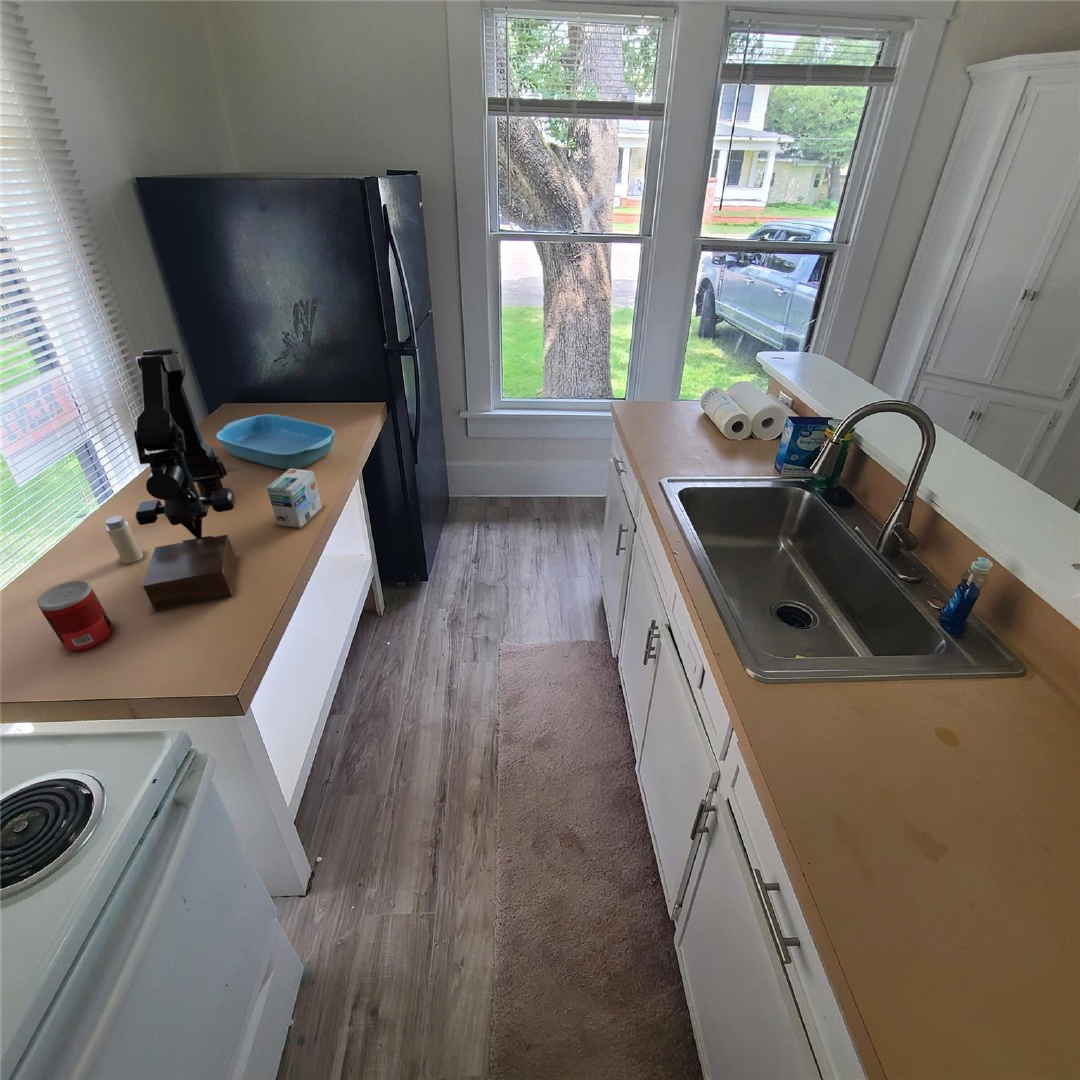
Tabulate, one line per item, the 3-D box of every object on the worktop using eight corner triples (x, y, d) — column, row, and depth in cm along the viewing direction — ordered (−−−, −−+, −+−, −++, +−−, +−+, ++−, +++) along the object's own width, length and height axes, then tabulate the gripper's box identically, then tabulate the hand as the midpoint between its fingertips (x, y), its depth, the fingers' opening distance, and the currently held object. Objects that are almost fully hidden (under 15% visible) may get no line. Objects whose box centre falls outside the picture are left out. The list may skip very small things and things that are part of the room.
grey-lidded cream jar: (129, 552, 133) (110, 514, 127) (147, 553, 133) (129, 514, 127) (118, 563, 130) (98, 524, 124) (136, 563, 130) (117, 525, 124)
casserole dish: (353, 449, 179) (349, 428, 175) (301, 480, 162) (295, 458, 158) (264, 429, 191) (258, 409, 187) (207, 456, 175) (200, 435, 171)
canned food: (124, 629, 112) (99, 584, 106) (85, 657, 106) (57, 612, 99) (95, 620, 114) (69, 576, 108) (55, 647, 108) (25, 602, 101)
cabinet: (166, 571, 127) (154, 547, 123) (236, 558, 131) (227, 534, 127) (155, 612, 116) (142, 586, 112) (232, 596, 120) (222, 570, 116)
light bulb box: (301, 528, 142) (290, 490, 136) (276, 525, 143) (264, 487, 137) (323, 506, 150) (314, 470, 144) (299, 504, 151) (289, 467, 145)
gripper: (117, 503, 114) (147, 566, 123) (220, 487, 120) (242, 548, 128) (128, 478, 123) (155, 538, 132) (224, 464, 128) (244, 523, 137)
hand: (199, 537), depth 132 cm, fingers closed
